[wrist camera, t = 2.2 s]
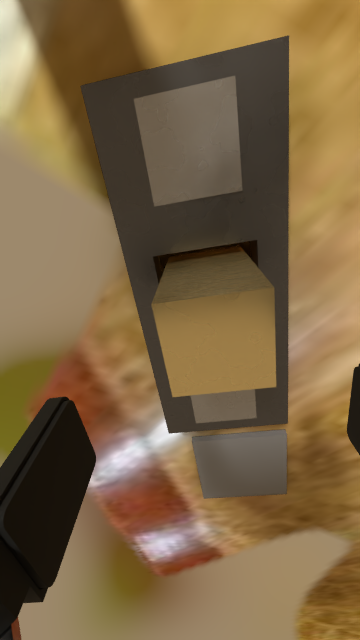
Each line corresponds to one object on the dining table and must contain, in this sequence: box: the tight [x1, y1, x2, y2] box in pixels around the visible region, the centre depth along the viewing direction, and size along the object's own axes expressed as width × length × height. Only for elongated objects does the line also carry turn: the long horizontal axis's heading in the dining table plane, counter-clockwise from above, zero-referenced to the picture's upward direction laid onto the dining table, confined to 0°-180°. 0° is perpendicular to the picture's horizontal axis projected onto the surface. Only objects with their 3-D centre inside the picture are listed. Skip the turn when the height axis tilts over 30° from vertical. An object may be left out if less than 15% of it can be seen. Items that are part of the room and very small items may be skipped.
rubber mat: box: [192, 429, 287, 499], centre depth 28 cm, size 9×9×1 cm
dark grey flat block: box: [81, 36, 289, 433], centre depth 19 cm, size 10×24×3 cm, turn 9°
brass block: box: [151, 246, 276, 397], centre depth 16 cm, size 5×5×9 cm
